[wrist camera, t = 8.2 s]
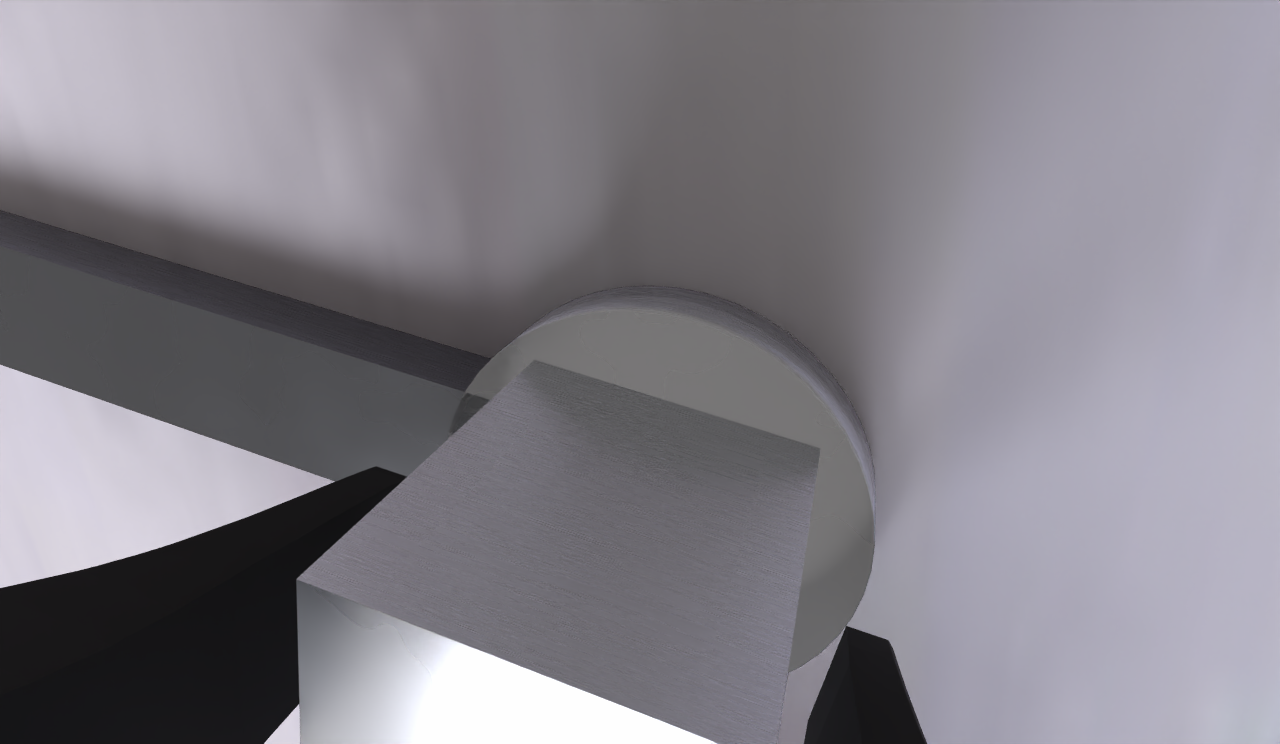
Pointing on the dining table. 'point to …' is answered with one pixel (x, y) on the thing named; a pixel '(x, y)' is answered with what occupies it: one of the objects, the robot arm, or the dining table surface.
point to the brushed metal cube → (565, 580)
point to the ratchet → (420, 378)
